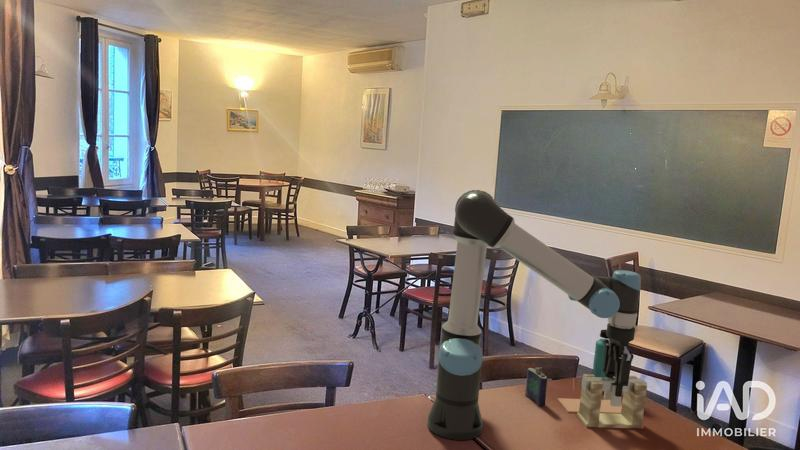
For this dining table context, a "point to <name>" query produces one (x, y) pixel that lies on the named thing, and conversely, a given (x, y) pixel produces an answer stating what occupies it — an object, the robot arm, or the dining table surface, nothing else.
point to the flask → (536, 386)
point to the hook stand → (593, 417)
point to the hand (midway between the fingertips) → (611, 402)
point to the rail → (609, 383)
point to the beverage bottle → (599, 355)
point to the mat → (574, 405)
